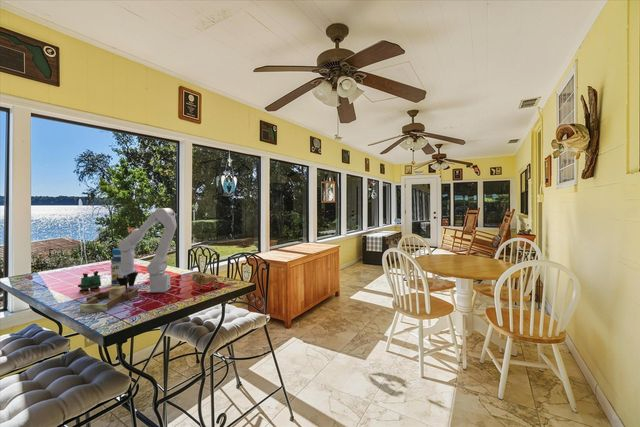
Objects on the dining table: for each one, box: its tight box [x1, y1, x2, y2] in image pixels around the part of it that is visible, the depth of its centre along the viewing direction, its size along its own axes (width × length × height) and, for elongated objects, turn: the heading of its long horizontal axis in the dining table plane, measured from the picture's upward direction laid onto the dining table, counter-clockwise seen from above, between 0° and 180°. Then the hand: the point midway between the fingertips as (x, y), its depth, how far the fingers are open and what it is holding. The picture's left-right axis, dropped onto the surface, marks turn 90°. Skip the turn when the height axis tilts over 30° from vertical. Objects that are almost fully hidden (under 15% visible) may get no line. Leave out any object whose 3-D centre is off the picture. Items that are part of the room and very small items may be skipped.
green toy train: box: [77, 270, 102, 295], centre depth 151 cm, size 9×11×10 cm
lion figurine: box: [191, 272, 222, 290], centre depth 159 cm, size 15×5×9 cm, turn 113°
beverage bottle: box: [110, 248, 127, 286], centre depth 166 cm, size 8×8×20 cm
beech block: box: [108, 285, 127, 300], centre depth 143 cm, size 5×5×5 cm
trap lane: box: [79, 286, 139, 313], centre depth 137 cm, size 16×26×3 cm, turn 9°
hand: (127, 288), depth 153 cm, fingers open, 7 cm apart
